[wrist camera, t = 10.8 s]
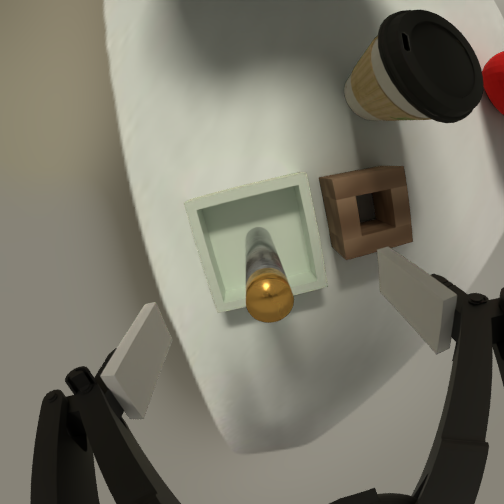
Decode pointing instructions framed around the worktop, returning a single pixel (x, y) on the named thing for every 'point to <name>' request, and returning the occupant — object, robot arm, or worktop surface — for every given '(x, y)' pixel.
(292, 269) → the tray
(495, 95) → the tomato
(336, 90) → the worktop surface
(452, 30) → the coffee cup
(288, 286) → the pin
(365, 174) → the socket block
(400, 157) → the worktop surface
